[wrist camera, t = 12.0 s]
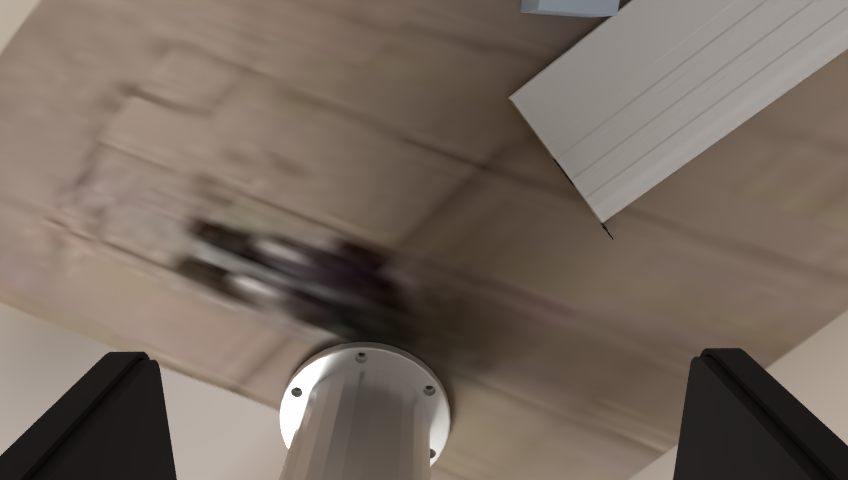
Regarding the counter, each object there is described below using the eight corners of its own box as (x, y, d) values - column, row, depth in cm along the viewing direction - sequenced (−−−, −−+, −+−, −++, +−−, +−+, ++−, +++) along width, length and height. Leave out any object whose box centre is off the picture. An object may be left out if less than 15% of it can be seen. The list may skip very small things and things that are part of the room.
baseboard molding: (1061, -84, 34) (982, -285, 31) (1118, -94, 31) (1037, -316, 28) (608, 235, 41) (504, 96, 37) (621, 250, 38) (510, 101, 35)
